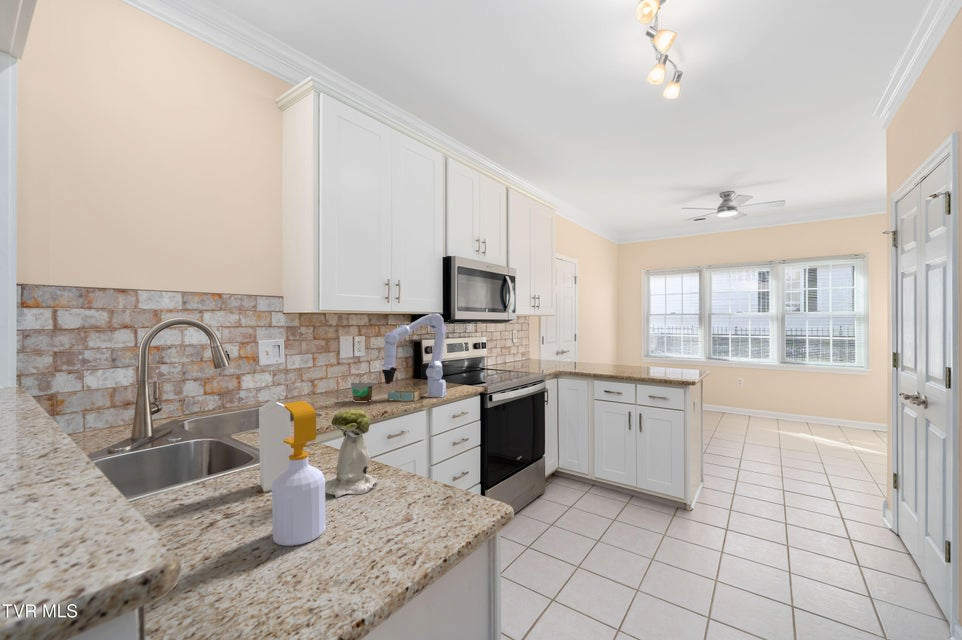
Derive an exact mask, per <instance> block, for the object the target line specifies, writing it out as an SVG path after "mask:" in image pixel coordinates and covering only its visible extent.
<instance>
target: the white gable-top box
mask: <svg viewBox="0 0 962 640" xmlns="http://www.w3.org/2000/svg"><path fill="white" fill-rule="evenodd" d="M284 405H285V404H283V403H280V402H278V398H277V396H276V395H275V394H271V400H269V401H268V402H266V403H264V404H263V405H262V406H260V407H259V408H258V429H259V430H258V432H259V436H258V442H259V443H258V444H259V447H258V448H259V449H258V451H259V485H260V487H261V489H262V491H263V492H264V493H266V492H272V485H273V482H274V480H275V479H276V478H277V477H278V476H279V475H280V474H281V473H282V472H284V471H285V470H287V469H288V468H289V455H291V454H292V453H291V452H292V451H291V449H292V448H291V445H290V444H287V443H284V441H283V440H284V439H287V438H291V413H290V412H289V411H288V410H287V409H286V408H285V407H284Z"/></svg>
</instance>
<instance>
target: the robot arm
mask: <svg viewBox="0 0 962 640" xmlns="http://www.w3.org/2000/svg"><path fill="white" fill-rule="evenodd" d="M423 325H425V326H426V325H428V327H431V328H432V329H433V330H434V332H435V335H434V340H433V347H432V354H431V360H430V362H429V363H428V367H427V368H426V370H425V375H426V376H427V394H426V395H425V396H424V397H425V398H444V397H445V396H447V385H446V384H447V382H446V379H442V377H443V374H444V372H443V364H442V357H443V351H444V344H445V339H446V332H447V328H446V325H445V322H444V318H443V316H442V315H441V314H439V313H429V314H427V315H425V316H422V317H420V318H419V319H417V320H415V321H413V322H412V323H410V324H408V325H403V324H400V325H399V327H397V328H395V329H392V330H391V332H387V333H385V335H384V337H383V341H384V356H383V357H384V358H383V359H384V360H383V361H384V362H383V364H381V366H382V367H384V369H381V371H382V374H383V378H384V383H385V384H386V385H390V384H391V383H393V381H394V378H395V373H396V371H397V370H398V369H397V367H396V366H397V363H396V362H397V361H396V360H397V343H398V341H400V340H402V339H404V338H405V337H407V336H409V335H410V333H411V332H412V331H413V330H415V329H418V328H420V327H421V326H423Z"/></svg>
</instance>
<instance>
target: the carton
mask: <svg viewBox="0 0 962 640" xmlns="http://www.w3.org/2000/svg"><path fill="white" fill-rule="evenodd" d="M389 392H390V393H400V400H401V393H413V400H401V401H400V402H416V401H419V400H420V399H421V390H412V389H411V390H408V389H407V390H405V389H401V390H400V389H398V390H397V389H395V390H391V391H389ZM389 392H387V394H388V393H389ZM388 400H389V399H388V398H387V401H388Z"/></svg>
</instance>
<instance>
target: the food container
mask: <svg viewBox="0 0 962 640" xmlns="http://www.w3.org/2000/svg"><path fill="white" fill-rule="evenodd" d="M373 386H374V382H373V381H367V382H354V380H353V381H351V382H350V387H351V389H352V391H351V392H352V399H353V400H355V401H369V400H371V401H372V396H373V395H372V394H373ZM353 400H352V401H353Z"/></svg>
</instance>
